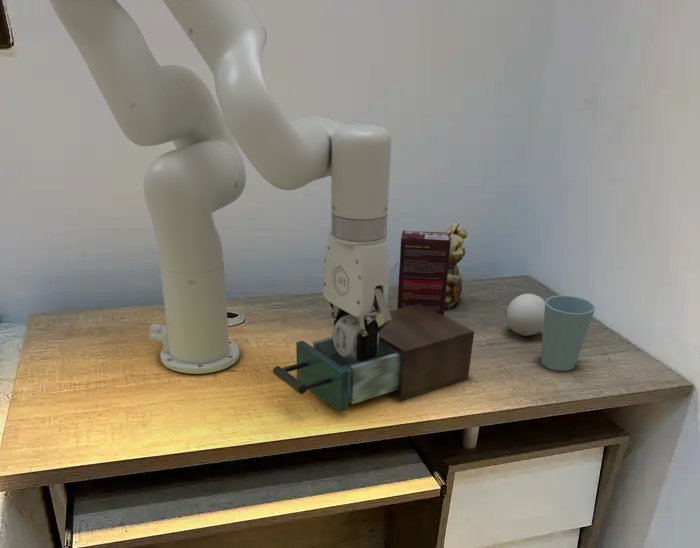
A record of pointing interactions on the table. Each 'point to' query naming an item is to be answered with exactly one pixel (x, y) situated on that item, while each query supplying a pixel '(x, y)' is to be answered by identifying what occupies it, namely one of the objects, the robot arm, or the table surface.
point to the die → (347, 335)
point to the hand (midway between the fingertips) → (354, 349)
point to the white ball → (526, 314)
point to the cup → (564, 330)
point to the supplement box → (423, 269)
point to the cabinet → (427, 349)
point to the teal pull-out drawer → (342, 373)
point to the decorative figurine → (455, 264)
